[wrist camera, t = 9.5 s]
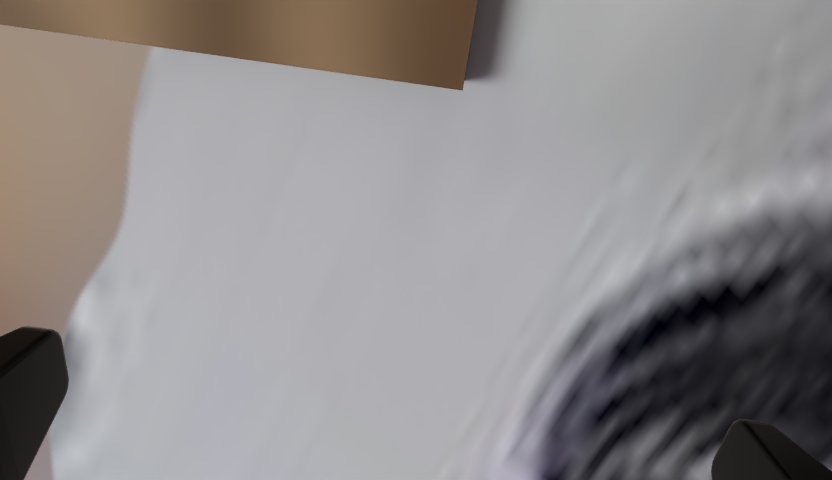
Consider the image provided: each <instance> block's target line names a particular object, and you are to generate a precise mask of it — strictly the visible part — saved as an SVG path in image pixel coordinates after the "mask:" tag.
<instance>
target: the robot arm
mask: <svg viewBox="0 0 832 480" xmlns="http://www.w3.org/2000/svg"><path fill="white" fill-rule="evenodd" d="M68 382H69V378H68V371H67V366H66V360H65V354H64V349H63V343H62V339H61V336H60V335H59V333H58V332H57V331H55V330H52V329H45V328H37V327H21V328H19V329H16V330H14V331H12V332H10V333H7V334H5V335H3V336H1V337H0V480H24V478H25V476H26V474H27V472H28V470H29V468H30V466H31V464H32V462H33V460H34V458H35V456H36V454H37V452H38V450H39V448H40V446H41V444H42V442H43V440H44V438H45V436H46V434H47V432H48V430H49V428H50V426H51V424H52V422H53V420H54V418H55V416H56V414H57V412H58V410H59V408H60V406H61V404H62V402H63V400H64V397H65V395H66V392H67V389H68ZM711 473H712V480H832V471H831V470H829V469H828V468H827V467H826V466H824V465H823V464H822V463H820V462H819V461H818V460H817V459H815V458H814V457H813V456H812V455H810V454H809V453H808V452H806V451H805V450H804V449H803V448H801V447H800V446H799V445H798V444H796V443H795V442H794V441H792V440H791V439H790V438H789V437H787V436H786V435H785V434H784V433H782V432H781V431H780V430H778V429H777V428H776V427H775V426H773V425H772V424H770V423H767V422H763V421H756V420H748V419H738V420H736V421H735V422H733V423H732V425H731V426H730V428H729V430H728V432H727V434H726V436H725V438H724V440H723V442H722V444H721V446H720V448H719V450H718V451H717V453H716V455H715V457H714V460H713V463H712V469H711Z"/></svg>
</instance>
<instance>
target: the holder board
mask: <svg viewBox="0 0 832 480" xmlns="http://www.w3.org/2000/svg"><path fill="white" fill-rule="evenodd" d="M477 2H478V0H0V24H2V25H9V26H16V27H23V28H29V29H36V30H44V31H50V32H59V33H65V34H72V35H79V36H85V37H93V38H100V39H107V40H114V41H121V42H128V43H135V44H142V45H148V46H155V47H162V48H169V49H176V50H183V51H190V52H197V53H205V54H212V55H219V56H226V57H233V58H240V59H247V60H254V61H261V62H268V63H275V64H282V65H289V66H296V67H303V68H310V69H317V70H324V71H331V72H338V73H345V74H352V75H359V76H366V77H373V78H380V79H387V80H394V81H401V82H408V83H415V84H422V85H429V86H436V87H443V88H450V89H457V90H463V84H464V78H465V73H466V67H467V61H468V55H469V49H470V43H471V37H472V32H473V26H474V20H475V14H476V8H477Z"/></svg>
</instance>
